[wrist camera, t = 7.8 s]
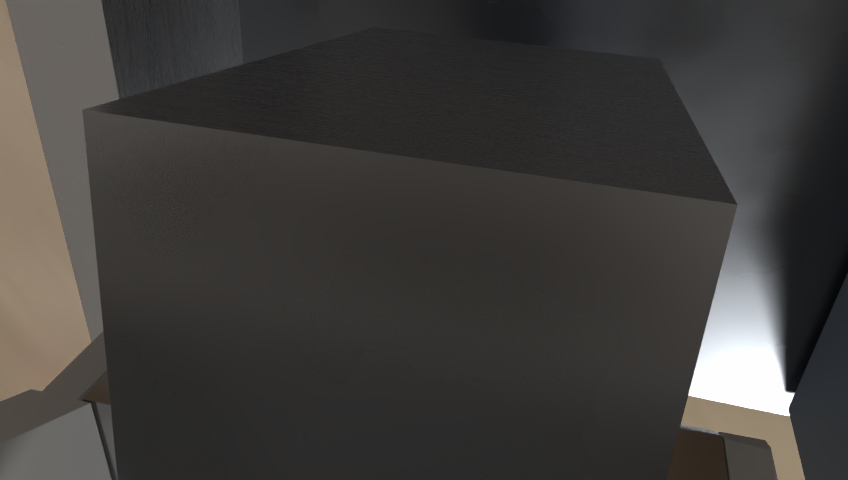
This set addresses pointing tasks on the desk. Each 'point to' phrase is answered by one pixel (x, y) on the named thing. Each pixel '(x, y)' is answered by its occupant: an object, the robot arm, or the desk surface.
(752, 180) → the vise base
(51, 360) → the desk surface
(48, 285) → the desk surface
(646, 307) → the steel block
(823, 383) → the sliding jaw
